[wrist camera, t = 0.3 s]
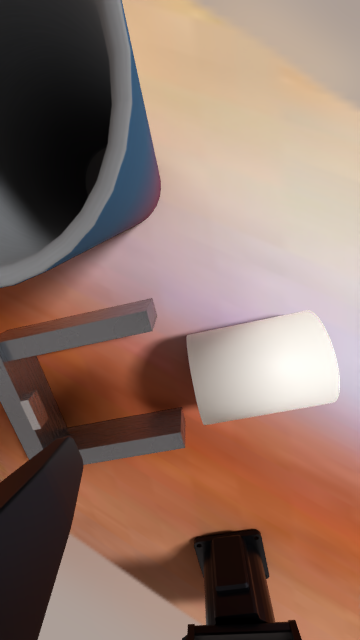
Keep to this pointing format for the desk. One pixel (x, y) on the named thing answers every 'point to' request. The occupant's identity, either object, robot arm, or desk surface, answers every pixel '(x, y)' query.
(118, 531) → the desk surface
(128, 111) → the cup
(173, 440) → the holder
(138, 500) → the desk surface
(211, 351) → the roll
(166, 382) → the desk surface
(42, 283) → the desk surface
